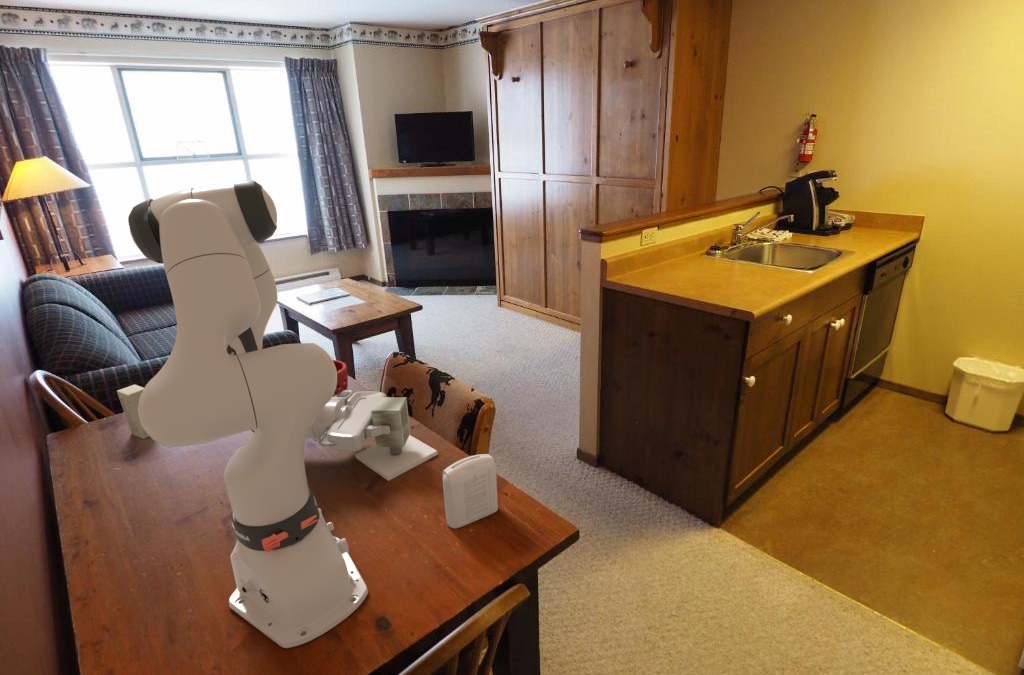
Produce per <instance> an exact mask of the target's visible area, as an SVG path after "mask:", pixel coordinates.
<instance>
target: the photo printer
mask: <svg viewBox="0 0 1024 675" xmlns="http://www.w3.org/2000/svg"><path fill="white" fill-rule="evenodd" d="M441 479H442V488H443V498H444V499H443V500H444V510H445V517H446V524H447V526H448V527H450V528H451V529H458V528H462V527H465V526H468V525H469V524H472V523H474V522H477V521H478V520H480V519H483V518H485V517H488V516H491V515H493V514H495V513H496V512H497V511H498V510H499V501H498V500H499V499H498V484H497V467H496V462H495V459H494V458H493V456H491V454H489V453H483V454H482V453H479V454H475V455H470V456H467V457H465V458H462V459H460V460H457V461H455V462H454V463H452V464H450V465H449V466H447V467H445V469H444V470H443V471H442V476H441Z"/></svg>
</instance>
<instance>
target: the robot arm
mask: <svg viewBox="0 0 1024 675" xmlns="http://www.w3.org/2000/svg"><path fill="white" fill-rule="evenodd" d="M127 220H128V226H129V232H130V236H131V238H132V241H133V243H134V244H135V245H136V247H137V248H138V249H139V250H140V252H141V254H143V256H144V257H146V258H147V260H151V261H152V262H155V263H157V264H163V268H164V271H165V276H166V279H167V282H168V286H169V289H170V290H169V291H170V293H171V298H172V302H173V307H174V313H175V319H176V335H175V341H174V344H173V348H172V350H171V352H170V355H169V356H168V358H167V360H166V361H165V363H164V364H163V365H162V367H161V369H159V371H158V372H157V373H156V374H155V375H154V376H153V377H152V378H151V379H149V381H148V382H147V383H146V384H145V386H144V389H143V391H142V394H141V396H140V399H139V404H138V414H139V419H140V422H141V425H142V427H143V428H144V430H145V431H146V433H147V434H148V435H149V437H150V438H151V439H152V440H153V441H154V442H156V443H158V444H159V445H161V446H163V447H166V448H168V449H170V448H179V447H188V446H194V445H195V446H196V445H202V444H203V445H204V444H208V443H212V442H215V441H218V440H221V439H224V438H228V437H231V436H235V435H238V434H241V433H244V432H249V431H251V432H252V433H253V434H252V436H251V437H250V438H249V439H248V440H246V442H245V443H243V444H242V445H241V446H240V447H238V448H237V449H236V450H235V452H233V453H232V455H231V457H230V458H229V459H228V461H227V464H226V466H225V468H224V473H223V481H224V483H225V484H224V486H225V488H226V492H227V495H228V498H229V499H228V500H229V504H230V506H231V509H232V510H231V514H230V515H231V517H230V518H231V525H232V526H231V527H232V530H233V531H234V534H235V537H236V542H235V545H234V547H233V550H232V551H231V554H230V556H229V557H230V561H231V566H232V571H233V576H234V581H235V586H236V588H235V590H234V591H233V593H231V595H230V597H229V599H228V604H229V605H228V606H229V608H230V609H231V610H232V611H234V612H235V613H237V614H238V615H239V616H240V617H242V618H243V619H244V620H246V621H247V622H248V623H249V624H250V625H252V626H253V627H255V628H256V629H257V630H259V631H260V632H261V633H262V634H264V635H265V636H266V637H267V638H269V639H271V640H272V641H273V642H274V643H276V644H277V645H278V646H279V647H282V648H284V649H289V648H295V647H298V646H301V645H304V644H306V643H308V642H310V641H313V640H314V639H316V638H318V637H320V636H322V635H324V634H325V633H327V632H329V631H330V630H331V629H333V628H335V627H336V626H337V625H339V624H340V623H341V622H343V621H344V620H346V619H347V618H348V617H349V616H350V615H351V614H353V613H354V612H355V611H356V610H357V609H358V608H359V607H360V606H361V604H362V603H363V602H364V601H365V599H366V597H367V595H369V590H368V586H367V585H366V582H365V579H363V577H362V574H360V572H359V570H358V567H357V566H356V565H355V562H354V561H353V559H352V558H351V556H350V553H349V551H350V549H349V548H350V546H349V544H348V541H347V540H346V537H342V538H339V537H338V536H337V537H336V536H335V535H333V533H332V532H331V531H333V530H334V529H335V526H334V523H333V522H332V521H329V522H326V520H325V518H324V515H323V513H322V509H321V508H319V507H318V503H317V501H316V498H315V496H314V494H313V492H312V488H310V486H309V485H308V479H307V474H306V473H307V472H306V465H305V444H306V439H313V440H315V441H316V440H317V442H318V445H320V446H321V447H324V448H325V447H326V448H329V449H331V450H335V451H343V452H357V451H360V450H362V449H363V448H364V445H365V443H366V442H367V440H368V438H375V436H378V435H381V434H389V433H390V431H391V424H386V423H383V424H382V425H380V426H375V427H374V426H373V420H372V413H371V410H372V408H373V407H374V405H375V404H376V402H377V401H378V399H379V398H380V397H387V394H386V393H385V392H382V391H369V390H368V391H367V390H366V391H356V392H353V390H352V389H347V390H345V391H343V392H341V393H340V394H338V395H336V396H334V397H333V394H334V392H335V389H336V385H337V371H336V367H335V364H334V362H333V360H334V359H332V356H331V355H330V354H329V353H328V352H327V351H326V350H325V349H324V348H322V346H320V345H318V344H316V343H313V342H309V343H308V342H307V343H305V342H303V343H302V342H301V343H300V342H299V343H287V344H286V343H284V344H279V345H275V346H271V347H266V348H263V342H264V341H263V339H264V335H265V332H266V328H267V326H268V323H269V321H270V319H271V317H272V314H273V312H274V310H275V308H276V305H277V302H278V291H277V290H278V289H277V285H276V284H277V283H276V280H275V278H274V275H273V273H272V270H271V268H270V266H269V262H268V261H267V259H266V258H267V257H266V256H265V254H264V252H263V251H262V250H263V249H261V247H260V245H259V244H264V243H265V242H266V241H267V240H268V239H269V238H272V236H274V233H276V232H275V231H276V230H277V228H278V224H277V222H278V213H277V209H276V205H275V203H274V200H273V199H272V197H271V195H270V194H269V192H267V191H266V190H265V189H264V187H263V185H261V184H260V183H258V182H256V180H253V179H252V180H249V179H242V180H241V179H240V180H234V181H233V183H232V182H229V183H220V184H213V185H207V186H201V187H197V188H194V187H191V188H187V189H183V190H180V191H177V192H173V193H170V194H167V195H164V196H161V197H159V198H158V197H157V198H156V199H152V198H150V199H147V200H144V201H142V202H140V203H138V204H136V205H134V206H132V209H131V211H130V213H129V214H128V218H127Z"/></svg>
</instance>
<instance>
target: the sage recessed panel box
mask: <svg viewBox="0 0 1024 675" xmlns="http://www.w3.org/2000/svg"><path fill="white" fill-rule="evenodd" d="M371 413H372V420H373V426H374V427H375V426H380V425H382V424H383V423H386V424H391V431H390V433H389V434H381V435H378V436H375V437H374V438H375V440H374V441H375V445H376V446H377V447H404V445H405V443H406V441H407V439H408V437H409V435H411V433H412V432H411V426H410V419H409V418H410V417H409V411H408V400H407V397H406V396H404V397H402V396H401V397H400V396H398V397H396V396H395V397H394V396H392V397H390V396H386V397H380V398H379V399H378V401H377V402H376V404H375V405H374V407H373V408H372V410H371Z"/></svg>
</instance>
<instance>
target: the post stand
mask: <svg viewBox="0 0 1024 675" xmlns="http://www.w3.org/2000/svg"><path fill="white" fill-rule="evenodd" d="M354 455H355V458H356V460H358V461H359V462H360V463H362V464H364V465H365V466H367V467H368V468H369V469H371V470H372V471H373V472H375V473H376V474H377V475H379V476H380V477H382V478H384V479H385V481H388V482H389V481H391V480H393V479H395V478H397V477H399V476H400V475H402V474H405V473H406V472H407V471H410V470H412V469H413V468H415V467H418V466H419V465H420V464H423V463H425V462H426V461H428V460H430V459H432V458H433V457H436V456H437V455H438V450H436V449H435V448H433V447H431V446H430V445H428V444H426V443H425V442H422V441H421V440H420V439H418V438H416V437H414V436H412V435H411V434H410V435H409V437H408V439H407V441H406V443H405V445H404V447H377V446H376V444H374V445H372V446H370V447H368V448H365V449H363V450H361V451H359V452H357V453H355V454H354Z"/></svg>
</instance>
